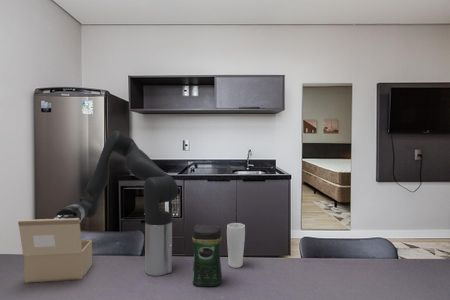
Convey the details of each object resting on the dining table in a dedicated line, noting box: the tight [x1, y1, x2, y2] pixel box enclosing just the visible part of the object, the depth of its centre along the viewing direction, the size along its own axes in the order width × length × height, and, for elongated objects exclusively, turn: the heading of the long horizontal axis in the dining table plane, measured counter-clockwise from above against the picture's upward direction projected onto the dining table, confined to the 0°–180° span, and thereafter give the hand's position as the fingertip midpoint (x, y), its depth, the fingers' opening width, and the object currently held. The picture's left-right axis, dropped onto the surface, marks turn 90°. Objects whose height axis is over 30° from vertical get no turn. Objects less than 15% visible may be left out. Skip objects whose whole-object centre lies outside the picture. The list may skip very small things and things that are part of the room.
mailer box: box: [23, 239, 93, 284], centre depth 98 cm, size 17×12×9 cm
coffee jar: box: [191, 224, 223, 287], centre depth 93 cm, size 10×8×19 cm
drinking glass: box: [226, 222, 246, 269], centre depth 106 cm, size 7×7×15 cm
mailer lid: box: [18, 218, 82, 257], centre depth 90 cm, size 17×12×1 cm
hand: (50, 228), depth 90 cm, fingers closed
